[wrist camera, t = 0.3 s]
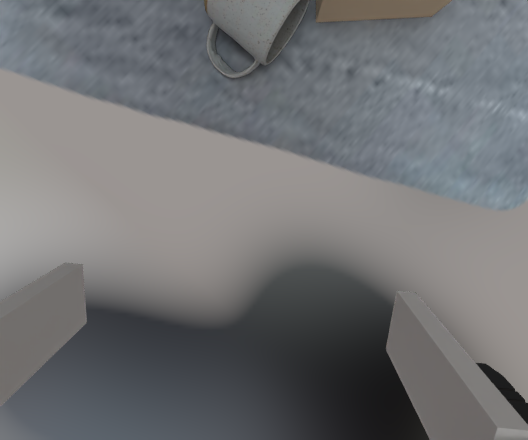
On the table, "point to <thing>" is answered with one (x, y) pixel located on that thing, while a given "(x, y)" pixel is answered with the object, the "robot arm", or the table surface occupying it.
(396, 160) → the table surface
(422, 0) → the carton
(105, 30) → the table surface
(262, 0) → the ceramic mug
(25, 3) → the table surface
